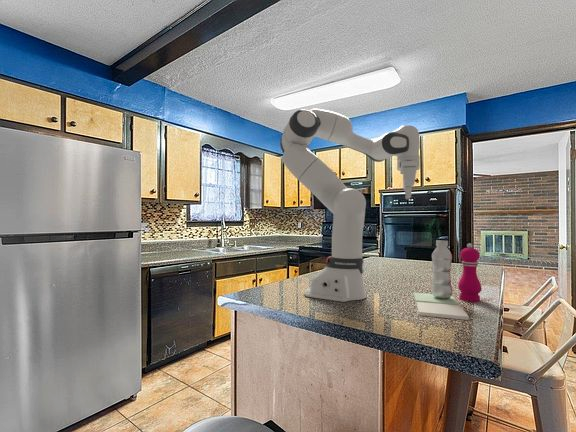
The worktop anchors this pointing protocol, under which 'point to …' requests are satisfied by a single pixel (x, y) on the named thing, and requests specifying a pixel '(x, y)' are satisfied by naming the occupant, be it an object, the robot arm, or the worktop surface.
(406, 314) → the worktop surface
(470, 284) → the pepper mill
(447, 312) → the mat
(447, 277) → the plastic bottle
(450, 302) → the mat
